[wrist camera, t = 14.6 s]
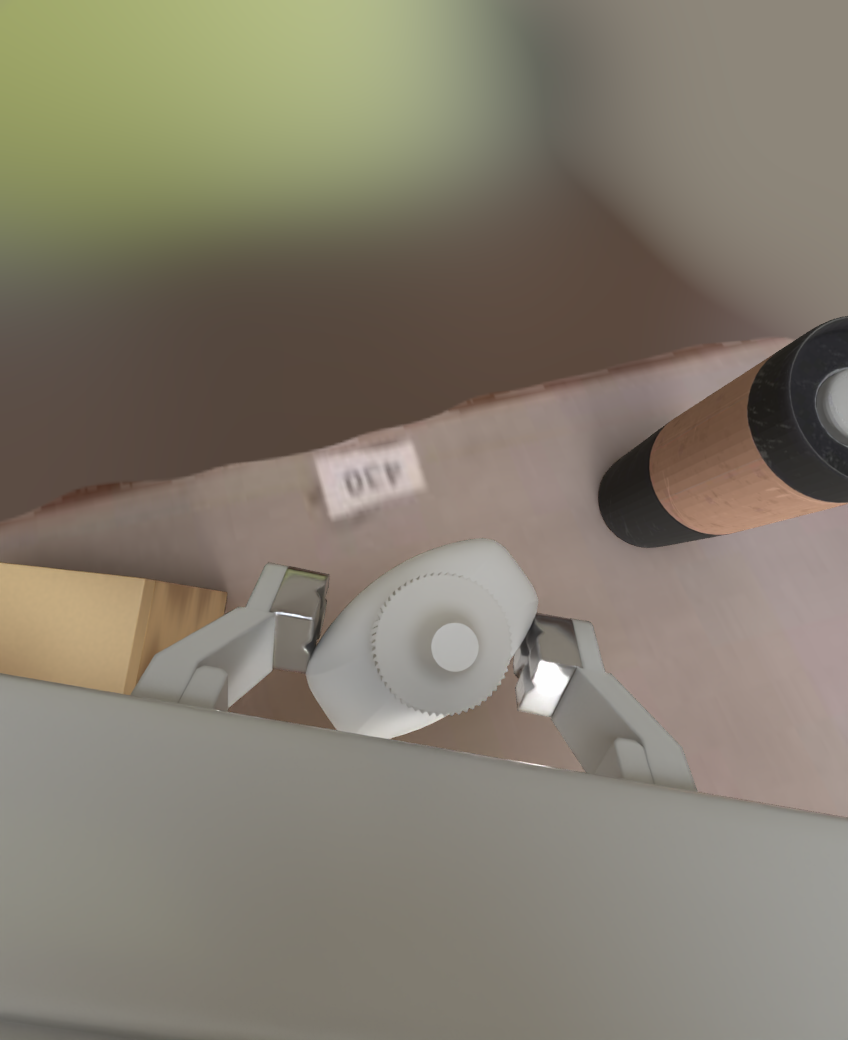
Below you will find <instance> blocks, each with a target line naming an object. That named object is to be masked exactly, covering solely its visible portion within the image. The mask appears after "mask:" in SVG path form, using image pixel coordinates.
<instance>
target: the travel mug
mask: <svg viewBox="0 0 848 1040" xmlns="http://www.w3.org/2000/svg"><path fill="white" fill-rule="evenodd" d="M845 504H848V316H845V317H840V318H836V319H833V320H830V321H828V322H825V323H823V324H821V325H819V326H817V327H815V328H814V329H812V330H811V331H809V332H807V333H806V334H804V335H803V336H801V337H799V338H798V339H796V340H795V341H793V342H792V343H790V344H789V345H787V346H786V347H784V348H783V349H781V350H779V351H778V352H776V353H775V354H773V355H772V356H770V357H769V358H767V359H766V360H764V361H762V362H761V363H759V364H758V365H756V366H755V367H753V368H752V369H750V370H749V371H747V372H745V373H744V374H742V375H741V376H739V377H738V378H736V379H735V380H733V381H732V382H730V383H729V384H727V385H725V386H724V387H722V388H721V389H719V390H718V391H716V392H715V393H713V394H712V395H710V396H708V397H707V398H705V399H704V400H702V401H701V402H699V403H698V404H696V405H695V406H693V407H691V408H690V409H688V410H687V411H685V412H684V413H682V414H681V415H679V416H678V417H676V418H674V419H673V420H672V421H670V422H669V423H667V424H666V425H665V426H663V427H662V428H661V429H659V430H658V431H657V432H655V433H654V434H653V435H651V436H650V437H649V438H647V439H646V440H645V441H643V442H642V443H641V444H639V445H638V446H637V447H635V448H634V449H632V450H631V451H630V452H628V453H627V454H626V455H624V456H623V457H622V458H621V459H619V460H618V461H617V462H616V463H615V464H613V465H612V466H611V467H610V468H609V470H608V471H607V472H606V474H605V475H604V477H603V479H602V482H601V485H600V489H599V506H600V511H601V514H602V516H603V518H604V520H605V522H606V524H607V525H608V527H609V528H610V529H611V530H612V532H613V533H614V534H616V535H617V536H618V537H619V538H621V539H622V540H624V541H625V542H627V543H630V544H632V545H635V546H639V547H646V548H650V547H660V546H666V545H672V544H677V543H683V542H688V541H694V540H699V539H704V538H710V537H715V536H720V535H726V534H730V533H735V532H739V531H743V530H747V529H751V528H755V527H759V526H763V525H766V524H770V523H774V522H778V521H782V520H786V519H790V518H794V517H798V516H802V515H806V514H810V513H814V512H818V511H822V510H825V509H829V508H833V507H837V506H841V505H845Z"/></svg>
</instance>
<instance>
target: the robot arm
mask: <svg viewBox="0 0 848 1040" xmlns="http://www.w3.org/2000/svg"><path fill="white" fill-rule="evenodd" d="M329 578H330V576H329V574H325V573H320V572H315V571H310V570H305V569H301V568H296V567H291V566H289V567H288V566H284V565H279V564H275V563H270V562H268V563H267V564H266V565H265V566H264V569H263V571H262V573H261V575H260V577H259V579H258V581H257V583H256V585H255V588H254V590H253V592H252V594H251V596H250V598H249V600H248V602H247V604H246V607H237V608H236V609H234V610H232V611H230V612H229V613H227V614H225V615H223V616H222V617H220V618H218V619H216V620H215V621H213V622H211V623H209V624H208V625H206V626H204V627H202V628H201V629H199V630H197V631H195V632H194V633H192V634H190V635H188V636H187V637H185V638H183V639H181V640H180V641H178V642H176V643H174V644H173V645H171V646H169V647H167V648H166V649H164V650H162V651H160V652H159V653H157V654H155V655H154V657H153V658H152V660H151V662H150V663H149V665H148V667H147V668H146V670H145V671H144V673H143V675H142V676H141V678H140V680H139V681H138V683H137V685H136V686H135V688H134V690H133V691H132V693H131V694H130V695H126V694H121V693H115V692H109V691H103V690H97V689H91V688H85V687H80V686H74V685H68V684H62V683H56V682H50V681H44V680H38V679H33V678H27V677H21V676H15V675H9V674H3V673H0V1040H848V817H843V816H837V815H832V814H826V813H820V812H814V811H808V810H802V809H796V808H790V807H785V806H779V805H773V804H767V803H761V802H755V801H749V800H743V799H738V798H732V797H726V796H720V795H714V794H708V793H702V792H698V791H697V788H696V786H695V783H694V780H693V777H692V774H691V771H690V768H689V766H688V763H687V760H686V757H685V754H684V751H683V748H682V747H681V746H680V745H679V744H678V743H677V742H676V741H675V739H674V738H673V737H672V736H671V735H670V734H669V733H668V732H667V731H666V730H665V729H664V728H663V727H662V726H661V725H660V724H659V723H658V722H657V721H656V720H655V719H654V718H653V717H652V716H651V715H650V714H649V712H648V711H647V710H646V709H645V708H644V707H643V706H642V705H641V704H640V703H639V702H638V701H637V700H636V699H635V698H634V697H633V696H632V695H631V694H630V693H629V692H628V691H627V690H626V689H625V688H624V687H623V685H622V684H621V683H620V682H619V681H618V680H617V679H616V678H615V677H614V676H613V675H612V674H610V673H605V669H604V665H603V662H602V658H601V654H600V650H599V647H598V643H597V639H596V635H595V632H594V628H593V625H592V623H591V622H589V621H583V620H577V619H571V618H570V619H568V618H564V617H558V616H552V615H547V614H541V613H536V615H535V617H534V620H533V622H532V625H531V627H530V629H529V631H528V632H527V634H526V636H525V638H524V640H523V641H522V643H521V645H520V646H519V648H518V649H517V651H516V652H515V654H514V657H513V669H514V674H515V675H516V676H517V678H518V679H519V680H518V682H517V685H516V687H515V692H516V703H517V711H522V712H527V713H532V714H537V715H541V716H546V717H551V720H552V721H553V723H554V725H555V726H556V728H557V729H558V731H559V732H560V734H561V735H562V737H563V738H564V740H565V741H566V743H567V744H568V746H569V747H570V749H571V750H572V752H573V754H574V755H575V757H576V758H577V760H578V761H579V763H580V764H581V766H582V767H583V769H584V770H585V772H586V773H584V772H578V771H572V770H567V769H561V768H555V767H549V766H543V765H537V764H532V763H526V762H520V761H514V760H508V759H503V758H497V757H491V756H485V755H479V754H473V753H468V752H462V751H456V750H450V749H444V748H438V747H432V746H426V745H420V744H415V743H409V742H403V741H397V740H391V739H385V738H379V737H373V736H367V735H362V734H356V733H350V732H344V731H338V730H332V729H326V728H320V727H314V726H309V725H303V724H297V723H291V722H285V721H279V720H273V719H267V718H262V717H256V716H250V715H244V714H238V713H232V712H228V708H229V707H230V706H231V705H233V704H234V703H235V702H236V701H237V700H239V699H240V698H241V697H242V696H243V695H244V694H246V693H247V692H248V691H249V690H250V689H251V688H253V687H254V686H255V685H256V684H257V683H258V682H260V681H261V680H262V679H263V678H264V677H266V676H267V675H268V674H269V673H270V672H271V671H272V669H278V670H285V671H292V672H298V673H305V674H306V670H307V666H308V662H309V661H310V658H311V656H312V654H313V651H314V649H315V647H316V640H317V639H319V637H320V633H321V630H322V626H323V621H324V617H325V611H326V604H327V600H326V594H327V591H328V588H329Z"/></svg>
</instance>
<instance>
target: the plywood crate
mask: <svg viewBox="0 0 848 1040" xmlns="http://www.w3.org/2000/svg"><path fill="white" fill-rule="evenodd" d="M226 599H227V592H223V591H217V590H212V589H206V588H200V587H194V586H188V585H182V584H176V583H170V582H164V581H158V580H152V579H146V578H138V577H129V576H120V575H111V574H102V573H93V572H83V571H74V570H65V569H56V568H47V567H38V566H29V565H20V564H10V563H1V562H0V673H3V674H9V675H15V676H21V677H27V678H33V679H38V680H44V681H50V682H56V683H62V684H68V685H74V686H80V687H85V688H91V689H97V690H103V691H109V692H115V693H121V694H126V695H130V694H131V693H132V691H133V690H134V688H135V686H136V685H137V683H138V681H139V680H140V678H141V676H142V675H143V673H144V671H145V670H146V668H147V667H148V665H149V663H150V662H151V660H152V658H153V657H154V655H155V654H157V653H159V652H160V651H162V650H164V649H166V648H167V647H169V646H171V645H173V644H174V643H176V642H178V641H180V640H181V639H183V638H185V637H187V636H188V635H190V634H192V633H194V632H195V631H197V630H199V629H201V628H202V627H204V626H206V625H208V624H209V623H211V622H213V621H215V620H216V619H218V618H220V617H222V616H223V615H224V611H225V605H226Z"/></svg>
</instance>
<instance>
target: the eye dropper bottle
mask: <svg viewBox="0 0 848 1040" xmlns="http://www.w3.org/2000/svg"><path fill="white" fill-rule="evenodd" d="M537 607H538V598H537V595H536V592H535V589H534V587H533V586H532V584H531V582H530V581H529V579H528V578H527V576H526V575H525V573H524V572H523V571H522V569H521V568H520V566H519V565H518V564H517V562H516V561H515V560H514V558H513V557H512V556H511V555H510V553H509V552H508V551H507V550H506V548H505V547H504V546H502V545H501V544H499V543H498V542H497V541H495V540H491V539H486V538H479V539H470V540H464V541H459V542H455V543H451V544H447V545H444V546H441V547H438V548H434V549H432V550H429V551H427V552H424V553H422V554H419V555H417V556H415V557H413V558H411V559H409V560H407V561H405V562H403V563H401V564H400V565H398V566H396V567H394V568H393V569H391V570H390V571H388V572H387V573H385V574H383V575H382V576H381V577H379V578H378V579H377V580H375V581H374V582H373V583H371V584H370V585H369V586H368V587H367V588H365V589H364V590H363V591H362V592H361V593H360V594H359V595H358V596H356V597H355V598H354V599H353V600H352V601H351V602H350V603H349V604H348V605H347V607H346V608H345V609H344V610H343V611H342V612H341V613H340V614H339V616H338V617H337V618H336V619H335V620H334V622H333V623H332V624H331V625H330V627H329V628H328V630H327V631H326V632H325V634H324V635H323V636H322V638H321V640H320V641H319V643H318V644H317V646H316V647H315V649H314V651H313V654H312V656H311V658H310V661H309V662H308V666H307V670H306V678H307V681H308V685H309V688H310V690H311V692H312V693H313V695H314V697H315V699H316V700H317V702H318V703H319V705H320V706H321V708H322V709H323V711H324V712H325V714H326V715H327V717H328V718H329V720H330V721H331V723H332V724H333V725H334V727H335V728H336V729H337V730H338V731H344V732H350V733H356V734H362V735H367V736H373V737H379V738H385V739H389V738H393V737H397V736H400V735H404V734H407V733H410V732H412V731H415V730H418V729H420V728H423V727H425V726H427V725H430V724H432V723H434V722H436V721H438V720H440V719H442V718H443V717H445V716H447V715H449V714H450V715H451V716H453V715H454V714H455V712H456V713H457V714H459V715H460V713H461V712H462V711H465V712H466V713H467V711H468V709H469V708H471V709H473V710H474V707H475V705H479V706H480V704H481V701H486V700H487V696H492V691H497V685H501V679H503V678H505V676H504V673H505V672H507V671H508V670H507V666H508V665H509V664H510V662H509V661H510V659H511V658H512V657H513V655H514V654H515V652H516V651H517V649H518V648H519V646H520V645H521V643H522V641H523V640H524V638H525V636H526V634H527V632H528V631H529V629H530V627H531V625H532V622H533V620H534V617H535V615H536V613H537Z"/></svg>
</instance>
